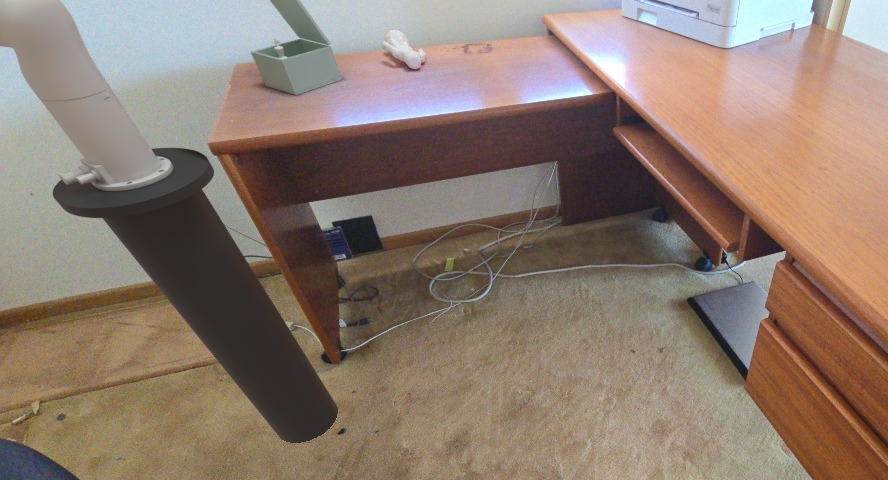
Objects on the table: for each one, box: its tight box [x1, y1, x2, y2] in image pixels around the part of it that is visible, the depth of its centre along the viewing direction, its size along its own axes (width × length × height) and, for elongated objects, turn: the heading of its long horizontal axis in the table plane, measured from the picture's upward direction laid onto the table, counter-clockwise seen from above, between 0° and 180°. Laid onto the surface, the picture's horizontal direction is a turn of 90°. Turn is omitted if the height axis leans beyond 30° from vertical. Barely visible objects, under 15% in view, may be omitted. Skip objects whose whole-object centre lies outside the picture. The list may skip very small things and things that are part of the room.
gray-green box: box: [250, 38, 343, 96], centre depth 130 cm, size 14×12×8 cm
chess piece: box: [271, 37, 287, 59], centre depth 126 cm, size 5×5×10 cm
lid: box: [269, 0, 332, 46], centre depth 125 cm, size 14×12×5 cm
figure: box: [381, 29, 426, 70], centre depth 145 cm, size 11×7×20 cm
